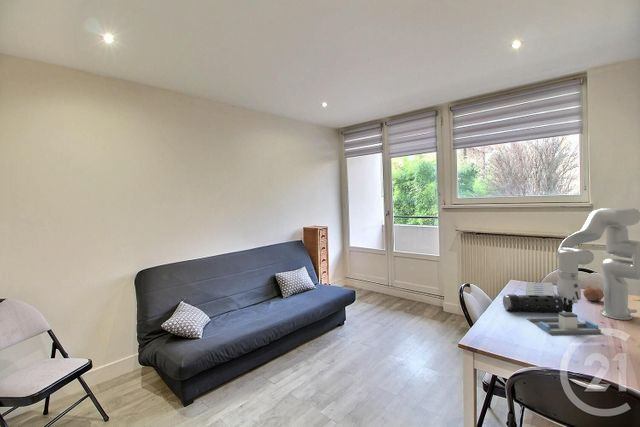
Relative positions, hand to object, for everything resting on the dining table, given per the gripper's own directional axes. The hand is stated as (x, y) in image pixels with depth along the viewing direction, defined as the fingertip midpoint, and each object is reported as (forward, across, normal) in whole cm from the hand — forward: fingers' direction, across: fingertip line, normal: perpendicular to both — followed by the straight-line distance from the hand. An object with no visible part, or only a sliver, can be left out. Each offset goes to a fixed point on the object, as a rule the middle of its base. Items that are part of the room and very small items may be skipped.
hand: (567, 311), depth 150 cm
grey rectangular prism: (+9, 0, 0) cm, 9 cm away
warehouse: (+11, +48, -18) cm, 53 cm away
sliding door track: (+10, +4, 0) cm, 11 cm away
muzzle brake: (+10, +25, +2) cm, 27 cm away
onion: (+10, +41, -45) cm, 62 cm away
